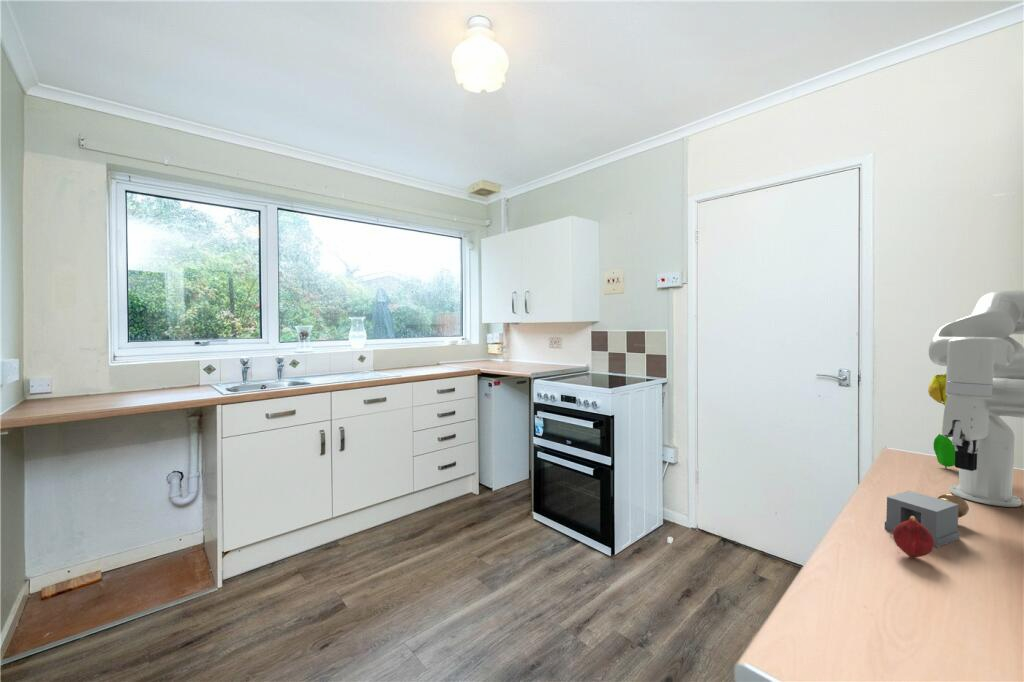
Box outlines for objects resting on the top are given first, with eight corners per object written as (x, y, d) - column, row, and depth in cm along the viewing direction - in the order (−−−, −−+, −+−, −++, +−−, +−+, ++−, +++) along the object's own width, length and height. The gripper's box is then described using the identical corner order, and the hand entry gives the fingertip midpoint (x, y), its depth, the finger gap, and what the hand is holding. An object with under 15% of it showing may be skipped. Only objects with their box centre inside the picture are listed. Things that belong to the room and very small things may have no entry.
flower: (936, 463, 142) (938, 372, 141) (969, 470, 135) (973, 374, 134) (921, 466, 139) (924, 373, 138) (955, 474, 131) (958, 375, 130)
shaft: (939, 511, 101) (939, 490, 101) (968, 520, 97) (969, 498, 97) (910, 521, 96) (911, 499, 96) (939, 531, 92) (940, 507, 92)
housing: (906, 521, 99) (907, 490, 99) (959, 538, 91) (960, 504, 91) (884, 528, 96) (885, 496, 95) (937, 547, 87) (938, 512, 87)
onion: (941, 567, 80) (943, 525, 80) (905, 564, 81) (906, 522, 81) (919, 551, 86) (920, 511, 86) (885, 548, 87) (886, 509, 87)
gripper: (962, 387, 107) (959, 461, 107) (931, 389, 101) (928, 467, 101) (1006, 391, 100) (1003, 470, 100) (975, 393, 94) (972, 477, 94)
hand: (965, 468), depth 101 cm, fingers closed
